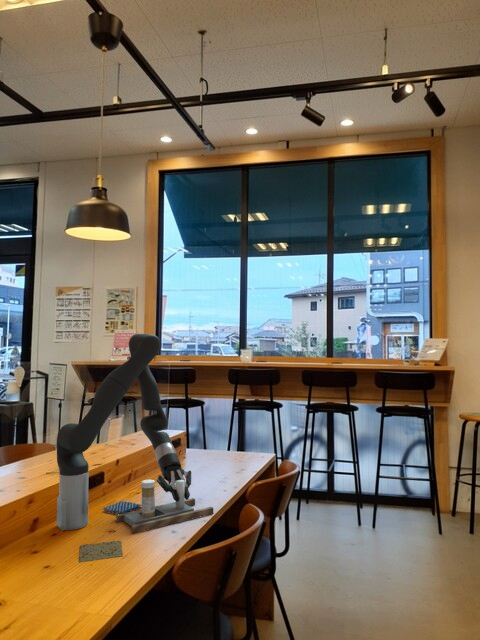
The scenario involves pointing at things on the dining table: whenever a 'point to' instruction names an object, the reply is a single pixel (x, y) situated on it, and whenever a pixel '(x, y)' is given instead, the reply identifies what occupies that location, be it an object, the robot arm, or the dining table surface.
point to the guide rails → (169, 519)
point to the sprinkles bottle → (148, 498)
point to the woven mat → (122, 507)
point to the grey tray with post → (163, 508)
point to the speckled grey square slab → (100, 551)
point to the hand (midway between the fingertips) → (182, 499)
